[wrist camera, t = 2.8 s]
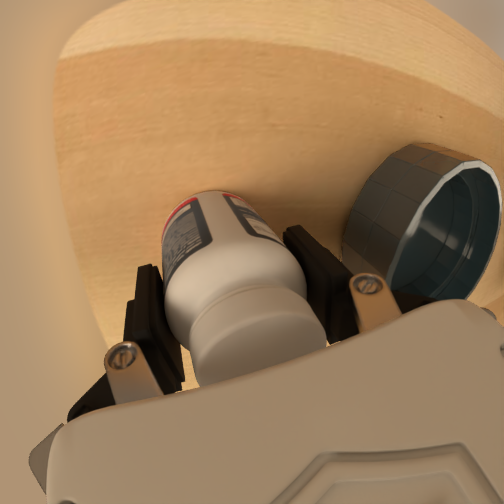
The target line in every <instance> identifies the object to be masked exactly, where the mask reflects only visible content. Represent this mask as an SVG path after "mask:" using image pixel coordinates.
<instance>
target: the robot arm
mask: <svg viewBox="0 0 504 504" xmlns="http://www.w3.org/2000/svg"><path fill="white" fill-rule="evenodd" d="M283 243H284V245H285V246H286V247H287V248H288V249H289V250H290V252H291V253H292V254H293V256H294V257H295V258H296V260H297V261H298V263H299V265H300V266H301V268H302V270H303V273H304V275H305V279H306V284H307V300H306V301H307V303H308V304H309V305H310V307H311V309H312V311H313V312H314V314H315V315H316V317H317V318H318V320H319V322H320V323H321V325H322V326H323V328H324V330H325V334H326V339H327V341H328V342H329V344H330V346H328V347H325V348H323V349H320V350H317V351H315V352H312V353H309V354H307V355H304V356H301V357H298V358H295V359H293V360H290V361H287V362H284V363H281V364H278V365H275V366H272V367H269V368H266V369H262V370H259V371H256V372H253V373H249V374H246V375H243V376H239V377H236V378H232V379H229V380H225V381H222V382H218V383H214V384H210V385H206V386H202V387H198V388H194V389H190V390H186V391H182V385H181V382H185V375H184V368H183V361H182V354H181V347H180V343H179V342H178V341H177V339H176V338H175V337H174V335H173V333H172V332H171V330H170V328H169V325H168V323H167V319H166V315H165V308H164V294H163V281H162V278H161V275H160V273H159V270H158V267H157V266H152V264H147V265H144V266H140V267H138V272H137V281H136V290H135V299H134V300H131V301H128V302H127V308H126V317H125V327H124V337H123V342H121V343H118V344H116V345H114V346H113V347H112V348H111V349H110V350H109V351H108V352H107V354H106V355H105V358H104V366H105V369H106V373H105V374H104V375H103V376H102V377H101V378H100V379H99V380H98V381H97V382H96V383H95V384H94V385H93V386H92V387H91V388H90V389H89V390H88V391H87V392H86V393H85V394H84V395H83V396H82V397H81V398H80V399H79V400H78V401H77V402H76V403H75V405H73V407H72V408H71V409H70V411H69V413H68V417H67V424H65V425H64V424H63V423H62V424H60V425H59V426H58V427H57V428H56V429H55V430H54V431H53V432H52V433H50V434H49V435H48V436H47V437H46V438H45V439H44V440H43V441H42V442H40V443H39V444H38V445H37V446H36V447H35V448H34V449H33V450H32V451H31V453H30V456H29V465H30V468H31V470H32V472H33V474H34V476H35V477H36V479H37V481H38V483H39V484H40V486H41V488H42V489H43V491H44V492H45V494H46V500H47V504H504V327H503V326H502V325H501V324H500V323H499V322H498V321H497V319H496V317H495V315H494V314H493V313H492V312H491V311H490V310H488V309H486V308H482V307H479V306H477V305H475V304H474V303H472V302H470V301H467V300H463V299H449V300H441V301H439V300H437V299H435V298H431V297H426V296H421V295H415V294H409V293H403V292H397V291H392V290H390V289H389V287H388V285H387V283H386V281H385V280H384V279H383V278H382V277H380V276H379V275H376V274H373V273H361V274H357V275H354V274H352V273H351V272H350V271H349V270H348V269H347V268H346V267H345V266H344V265H343V264H342V263H341V262H340V261H339V260H338V259H337V258H336V257H335V256H334V255H333V254H332V253H331V252H330V251H329V250H328V249H326V248H324V247H323V246H321V245H320V244H319V243H318V242H317V241H316V240H315V239H314V238H313V237H312V236H311V235H310V234H309V233H308V232H307V231H306V230H305V229H304V228H303V227H302V226H300V225H296V226H292V227H288V228H287V229H286V231H285V232H283ZM338 341H340V342H338ZM336 342H338V343H336ZM333 343H335V344H333ZM331 344H333V345H331ZM177 391H182V392H177ZM175 392H177V393H175Z"/></svg>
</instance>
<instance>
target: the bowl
mask: <svg viewBox="0 0 504 504" xmlns="http://www.w3.org/2000/svg"><path fill="white" fill-rule="evenodd" d="M352 208H353V209H352V210H351V213H350V217H349V220H348V224H347V227H346V231H345V234H344V237H343V248H342V264H343V265H344V266H345V267H346V268H347V269H348V270H349V271H350V272H351V273H352V274H354V275H357V274H361V273H373V274H376V275H379V276H380V277H382V278H383V279H384V280H385V281H386V283H387V285H388V287H389V289H390V290H392V291H397V292H403V293H409V294H415V295H421V296H426V297H431V298H435V299H437V300H439V301H441V300H449V299H463V300H467V298H468V297H469V296H470V295H471V293H472V292H473V291H474V289H475V287H476V286H477V284H478V282H479V281H480V279H481V277H482V276H483V274H484V272H485V270H486V268H487V266H488V263H489V261H490V259H491V256H492V254H493V251H494V249H495V245H496V242H497V238H498V234H499V230H500V225H501V215H502V197H501V189H500V184H499V181H498V179H497V177H496V175H495V173H494V171H493V169H492V168H491V167H490V166H489V165H487V164H486V163H484V162H483V161H481V160H480V159H477V158H474V157H471V156H469V155H466V154H463V153H460V152H457V151H454V150H451V149H448V148H445V147H441V146H438V145H435V144H431V143H423V144H411V145H408V146H406V147H404V148H402V149H401V150H399V151H397V152H395V153H393V154H392V155H390V156H389V157H388V158H387V159H386V160H385V161H384V162H383V163H382V164H381V165H380V166H379V167H378V168H377V170H376V171H375V172H374V173H373V174H372V175H371V176H370V177H369V179H368V180H367V182H366V183H365V185H364V187H363V189H362V191H361V193H360V194H359V196H358V198H357V200H356V202H355V203H354V205H353V207H352Z"/></svg>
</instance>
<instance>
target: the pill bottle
mask: <svg viewBox="0 0 504 504" xmlns="http://www.w3.org/2000/svg"><path fill="white" fill-rule="evenodd" d="M162 271H163V294H164V308H165V315H166V319H167V323H168V325H169V328H170V330H171V332H172V333H173V335H174V337H175V338H176V339H177V341H178V342H179V343H180V344H181V345H182V346H183V347H184V348H186V349H187V350H189V351H190V355H191V359H192V364H193V368H194V373H195V377H196V380H197V382H198V384H199V386H200V387H202V386H206V385H210V384H214V383H218V382H222V381H225V380H229V379H232V378H236V377H239V376H243V375H246V374H249V373H253V372H256V371H259V370H262V369H266V368H269V367H272V366H275V365H278V364H281V363H284V362H287V361H290V360H293V359H295V358H298V357H301V356H304V355H307V354H309V353H312V352H315V351H317V350H320V349H323V348H325V347H326V334H325V330H324V328H323V326H322V325H321V323H320V322H319V320H318V318H317V317H316V315H315V314H314V312H313V311H312V309H311V307H310V305H309V304H308V303H307V301H306V300H307V284H306V279H305V275H304V273H303V270H302V268H301V266H300V265H299V263H298V261H297V260H296V258H295V257H294V256H293V254H292V253H291V252H290V250H289V249H288V248H287V247H286V246H285V245H284V243H283V242H282V241H281V240H280V239H279V237H278V236H277V235H276V234H275V233H274V232H273V230H272V229H271V228H270V227H269V226H268V225H267V224H266V223H265V221H264V220H263V219H262V218H261V217H260V216H259V215H258V214H257V212H256V211H255V210H254V209H253V208H252V207H251V206H250V205H249V204H248V203H247V202H246V201H244V200H243V199H242V198H240V197H238V196H236V195H234V194H231V193H228V192H222V191H206V192H202V193H198V194H195V195H193V196H190V197H188V198H187V199H185V200H183V201H182V202H181V203H179V204H178V205H177V206H176V207H175V208H174V209H173V210H172V212H171V213H170V215H169V216H168V218H167V220H166V222H165V225H164V228H163V232H162Z"/></svg>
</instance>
